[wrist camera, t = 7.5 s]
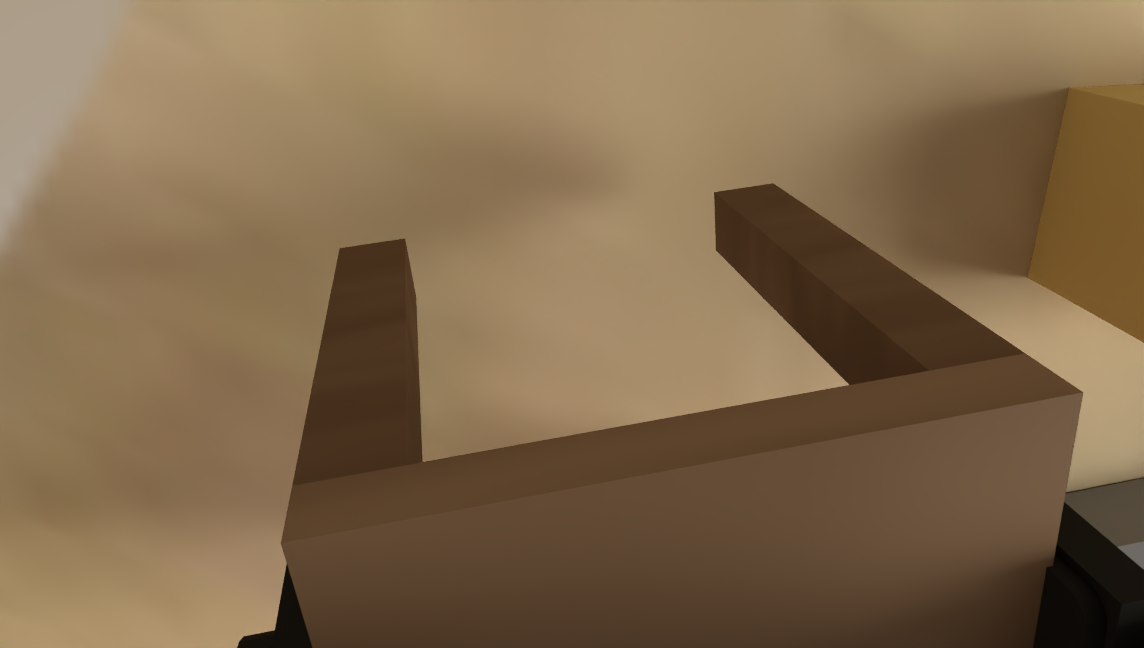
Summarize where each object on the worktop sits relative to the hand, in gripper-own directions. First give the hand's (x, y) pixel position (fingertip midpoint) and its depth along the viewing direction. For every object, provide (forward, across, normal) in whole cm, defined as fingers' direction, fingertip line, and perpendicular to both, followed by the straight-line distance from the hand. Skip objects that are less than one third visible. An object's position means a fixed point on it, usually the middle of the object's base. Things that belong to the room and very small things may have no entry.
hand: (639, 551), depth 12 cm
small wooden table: (+4, 0, 0) cm, 4 cm away
